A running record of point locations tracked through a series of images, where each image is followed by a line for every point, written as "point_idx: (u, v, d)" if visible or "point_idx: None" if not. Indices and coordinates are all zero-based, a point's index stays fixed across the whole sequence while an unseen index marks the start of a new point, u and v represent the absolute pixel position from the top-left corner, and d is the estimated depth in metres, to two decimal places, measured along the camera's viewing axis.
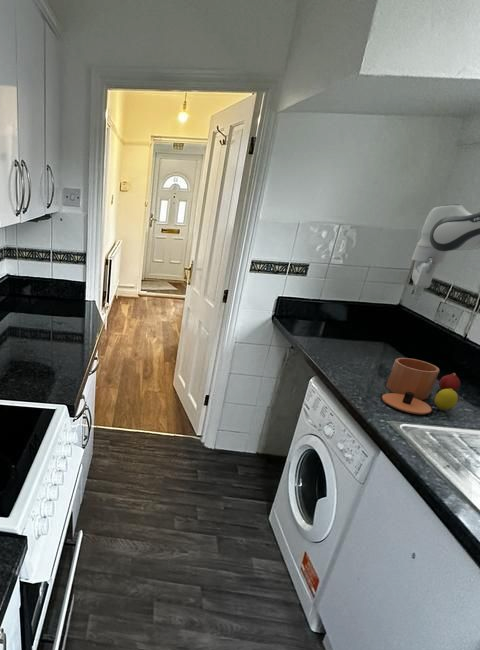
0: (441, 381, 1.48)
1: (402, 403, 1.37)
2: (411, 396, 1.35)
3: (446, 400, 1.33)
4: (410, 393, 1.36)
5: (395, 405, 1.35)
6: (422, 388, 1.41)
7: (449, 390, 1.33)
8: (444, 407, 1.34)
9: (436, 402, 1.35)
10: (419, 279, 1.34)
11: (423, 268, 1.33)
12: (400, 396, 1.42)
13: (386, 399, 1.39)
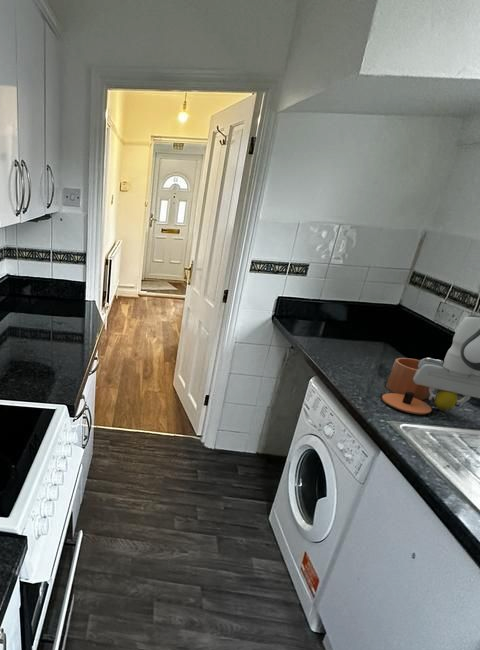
0: None
1: (402, 403, 1.37)
2: (411, 396, 1.35)
3: (446, 401, 1.33)
4: (410, 393, 1.36)
5: (395, 405, 1.35)
6: (422, 388, 1.41)
7: None
8: (444, 407, 1.34)
9: (436, 402, 1.35)
10: (415, 373, 1.38)
11: None
12: (400, 396, 1.42)
13: (386, 399, 1.39)
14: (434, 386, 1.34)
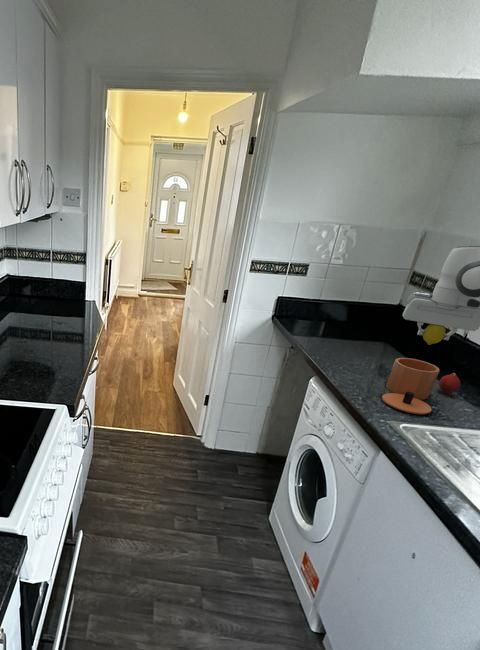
0: (441, 381, 1.48)
1: (402, 403, 1.37)
2: (411, 396, 1.35)
3: (434, 334, 1.36)
4: (410, 393, 1.36)
5: (395, 405, 1.35)
6: (422, 388, 1.41)
7: None
8: (432, 340, 1.37)
9: (424, 336, 1.39)
10: None
11: None
12: (400, 396, 1.42)
13: (386, 399, 1.39)
14: (422, 320, 1.37)
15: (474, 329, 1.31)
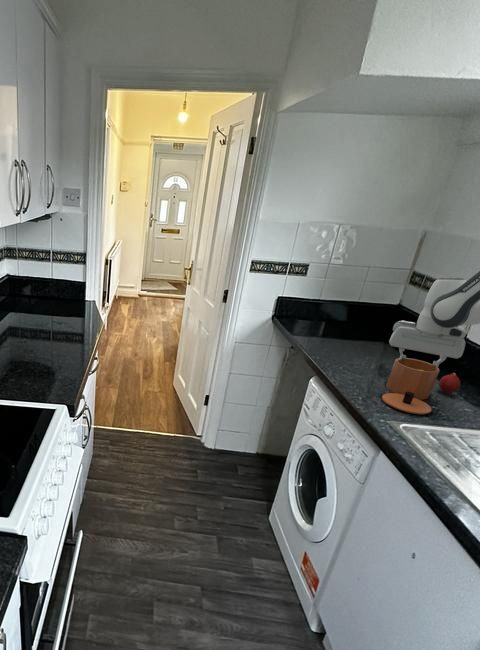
0: (441, 381, 1.48)
1: (402, 403, 1.37)
2: (411, 396, 1.35)
3: None
4: (410, 393, 1.36)
5: (395, 405, 1.35)
6: (422, 388, 1.41)
7: None
8: None
9: None
10: (391, 336, 1.47)
11: None
12: (400, 396, 1.42)
13: (386, 399, 1.39)
14: (408, 347, 1.43)
15: (457, 357, 1.36)
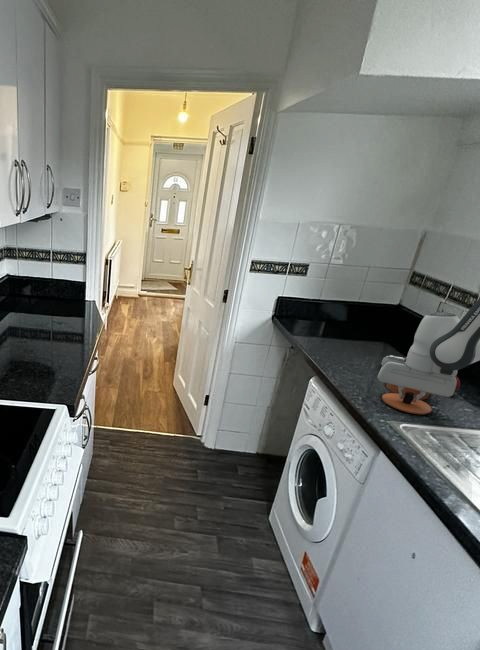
0: None
1: (402, 403, 1.37)
2: (411, 396, 1.35)
3: None
4: (410, 393, 1.36)
5: (395, 405, 1.35)
6: None
7: None
8: None
9: None
10: (379, 371, 1.40)
11: None
12: None
13: (386, 399, 1.39)
14: (397, 383, 1.36)
15: (448, 395, 1.29)
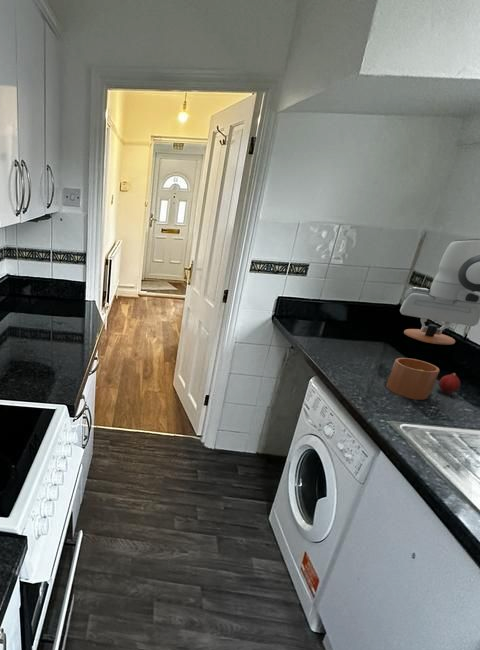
0: (441, 381, 1.48)
1: (425, 336, 1.35)
2: (434, 328, 1.34)
3: None
4: (433, 325, 1.35)
5: (418, 337, 1.34)
6: (422, 388, 1.41)
7: None
8: None
9: None
10: (402, 305, 1.39)
11: None
12: None
13: (409, 333, 1.37)
14: (420, 315, 1.34)
15: (473, 324, 1.28)
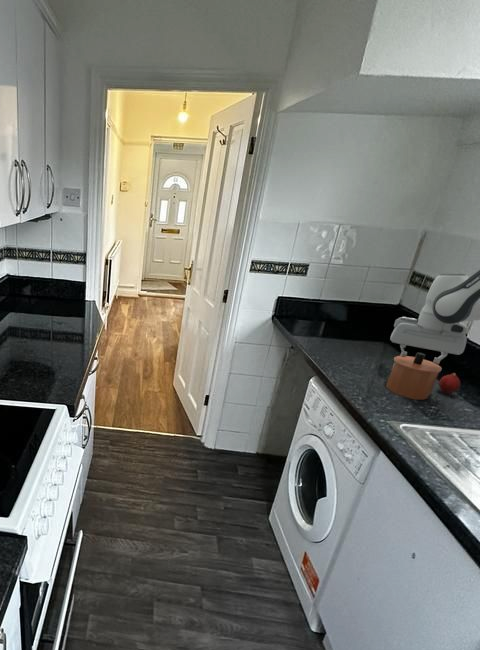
0: (441, 381, 1.48)
1: (413, 363, 1.43)
2: (422, 356, 1.42)
3: None
4: (421, 354, 1.43)
5: (407, 365, 1.42)
6: (422, 388, 1.41)
7: None
8: None
9: None
10: (392, 333, 1.47)
11: None
12: (411, 358, 1.48)
13: (398, 360, 1.45)
14: (409, 343, 1.42)
15: (458, 353, 1.36)
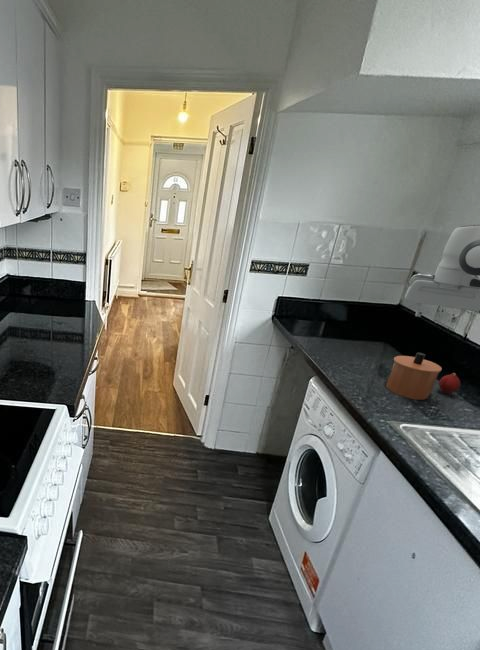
0: (441, 381, 1.48)
1: (413, 363, 1.43)
2: (422, 356, 1.42)
3: None
4: (421, 354, 1.43)
5: (407, 365, 1.42)
6: (422, 388, 1.41)
7: None
8: None
9: None
10: None
11: None
12: (411, 358, 1.48)
13: (398, 360, 1.45)
14: (425, 301, 1.36)
15: (477, 309, 1.30)
